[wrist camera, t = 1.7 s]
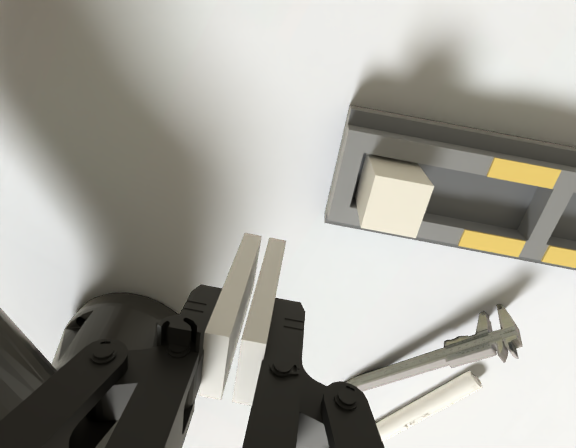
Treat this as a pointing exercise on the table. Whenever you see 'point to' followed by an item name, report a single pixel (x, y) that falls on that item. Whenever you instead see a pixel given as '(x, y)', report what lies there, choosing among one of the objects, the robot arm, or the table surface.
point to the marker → (428, 405)
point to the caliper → (452, 352)
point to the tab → (392, 195)
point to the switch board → (468, 185)
